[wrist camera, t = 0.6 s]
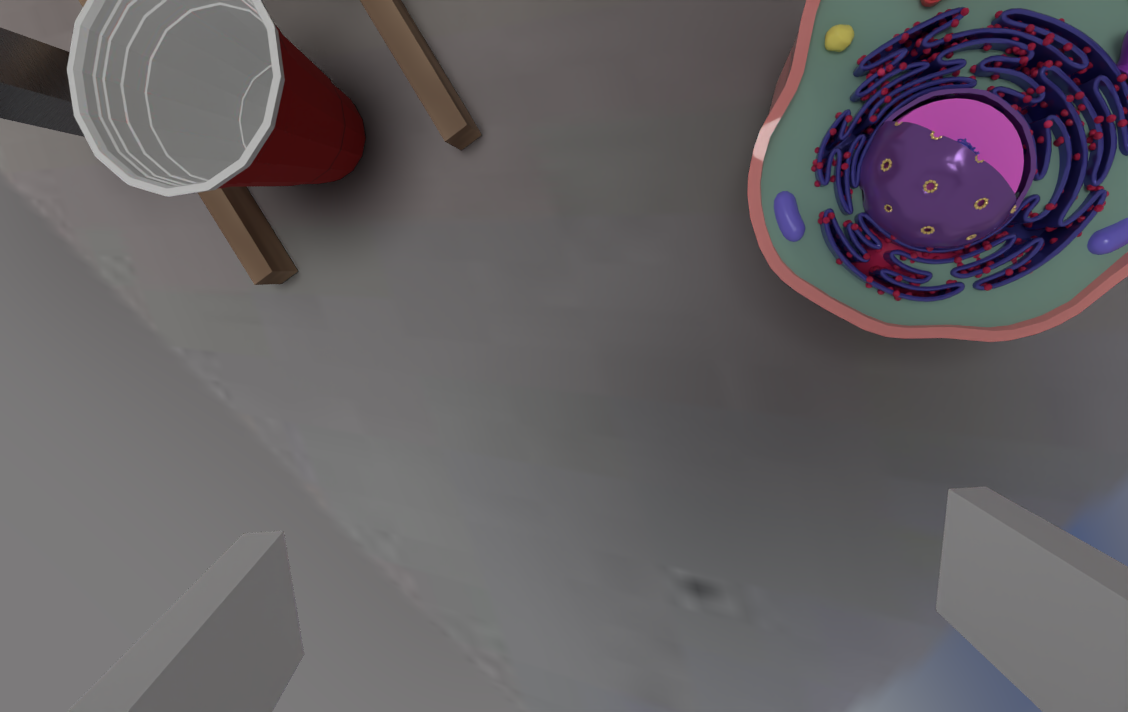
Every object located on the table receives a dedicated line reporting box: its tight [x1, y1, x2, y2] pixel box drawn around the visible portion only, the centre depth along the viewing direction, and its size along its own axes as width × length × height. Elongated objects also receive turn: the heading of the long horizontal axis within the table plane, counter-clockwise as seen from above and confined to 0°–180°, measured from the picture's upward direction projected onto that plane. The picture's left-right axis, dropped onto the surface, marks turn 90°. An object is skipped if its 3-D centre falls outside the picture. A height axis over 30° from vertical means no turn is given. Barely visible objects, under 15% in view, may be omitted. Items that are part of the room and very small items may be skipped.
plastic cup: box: [67, 0, 365, 197], centre depth 31 cm, size 11×11×12 cm
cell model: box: [747, 0, 1128, 342], centre depth 25 cm, size 17×20×11 cm
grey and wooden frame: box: [0, 0, 482, 285], centre depth 28 cm, size 22×22×17 cm
